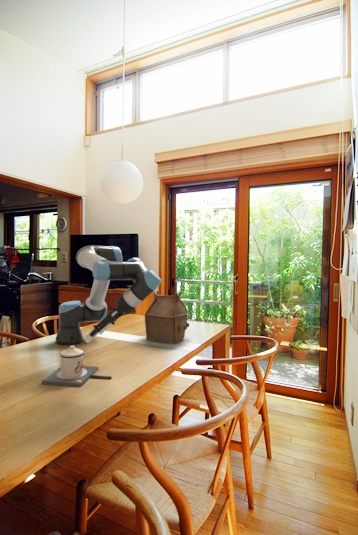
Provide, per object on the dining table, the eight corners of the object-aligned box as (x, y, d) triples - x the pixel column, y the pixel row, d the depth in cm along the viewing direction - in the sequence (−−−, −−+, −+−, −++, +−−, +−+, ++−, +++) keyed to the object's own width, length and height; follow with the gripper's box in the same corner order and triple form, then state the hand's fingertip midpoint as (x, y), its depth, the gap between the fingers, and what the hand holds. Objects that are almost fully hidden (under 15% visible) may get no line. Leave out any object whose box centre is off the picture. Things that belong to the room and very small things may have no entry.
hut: (179, 346, 170) (180, 294, 169) (137, 340, 180) (138, 291, 179) (192, 337, 191) (193, 290, 190) (154, 332, 201) (155, 288, 200)
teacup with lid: (78, 379, 118) (79, 349, 117) (56, 378, 118) (56, 349, 117) (88, 368, 130) (89, 341, 129) (67, 367, 130) (68, 340, 129)
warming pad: (41, 383, 116) (41, 380, 116) (64, 367, 134) (64, 364, 133) (104, 388, 113) (104, 384, 113) (118, 370, 131) (118, 367, 131)
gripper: (126, 313, 108) (86, 352, 110) (142, 303, 132) (109, 335, 134) (112, 298, 108) (72, 337, 110) (131, 291, 133) (98, 323, 135)
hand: (92, 336), depth 122 cm, fingers open, 13 cm apart
